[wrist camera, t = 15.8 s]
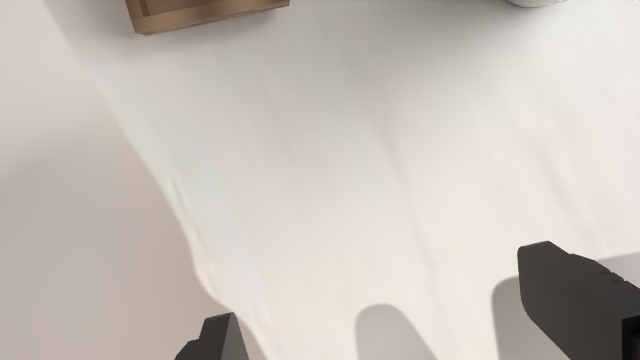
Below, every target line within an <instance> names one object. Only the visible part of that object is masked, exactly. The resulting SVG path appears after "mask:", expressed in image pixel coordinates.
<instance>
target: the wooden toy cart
mask: <svg viewBox="0 0 640 360" xmlns="http://www.w3.org/2000/svg"><path fill="white" fill-rule="evenodd" d="M125 1H126V4H127V8H128V11H129V14H130V17H131V20H132V24H133V27H134V30H135V33H139V34H143V35H152V34H157V33H161V32H166V31H171V30H176V29H180V28H185V27H190V26H195V25H199V24H204V23H209V22H214V21H218V20H223V19H228V18H233V17H237V16H242V15H247V14H252V13H256V12H261V11H266V10H271V9H275V8H280V7H285V6H289V1H290V0H125Z"/></svg>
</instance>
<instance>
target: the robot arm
mask: <svg viewBox="0 0 640 360" xmlns="http://www.w3.org/2000/svg"><path fill="white" fill-rule="evenodd" d="M508 1H509V2H511V3H513V4H515V5H518V6H522V7H539V6H543V5H547V4H552V3H556V2H560V1H566V0H508ZM517 258H518V270H519V282H520V293H521V300H522V303H523V306H524V309H525V311H526V312H527V314H528V316H529V317H530V319H531V320H532V321H533V322H534V323H535V324H536V325H537V326H538V327H539V328H540V329H541V330H542V331H543V332H544V333H545V334H546V335H547V336H548V337H549V338H550V339H551V340H552V341H553V342H554V343H555V344H556V345H557V346H558V347H559V348H560V349H561V350H562V351H563V352H564V353H565V354H566V355H567V356H568V357H569V359H570V360H640V289H639V288H638V287H636V286H634V285H633V284H631V283H630V282H628V281H624V279H623V278H622V277H620V276H618V275H617V274H615V273H614V272H612V273H611V272H610V270H609V269H607V268H606V267H604V266H602V265H601V264H599V263H597V262H596V261H594V260H591V259H588V258H585V257H582V256H579V255H576V254H568V253H567V252H565V251H564V250H562V249H561V248H559V247H558V246H556V245H555V244H553V243H552V242H550V241H543V242H539V243H535V244H530V245H526V246H522V247H520V248H519V249H518V253H517ZM175 360H249V358H248V354H247V351H246V348H245V344H244V341H243V338H242V334H241V331H240V328H239V324H238V321H237V318H236V316H235V314H234V313H233V312H231V313H226V314H222V315H217V316H213V317H209V318H206V319H205V321H204V324H203V327H202V330H201V333H200V336H199V339H197V340H192V341H189V342H188V343H187V344H186V345H185V346H184V347H183V349H182V350H181V351H180V352H179V353H178V354H177V356H176V358H175Z"/></svg>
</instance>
